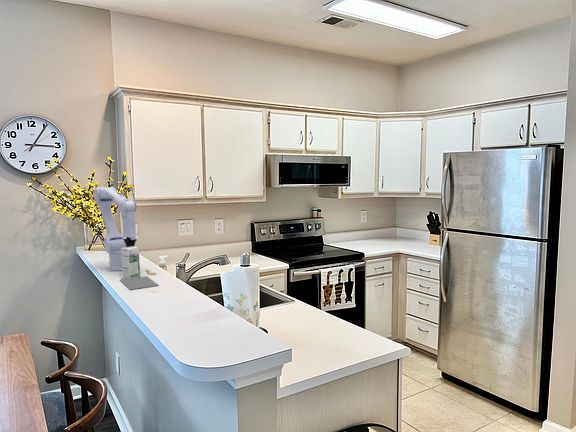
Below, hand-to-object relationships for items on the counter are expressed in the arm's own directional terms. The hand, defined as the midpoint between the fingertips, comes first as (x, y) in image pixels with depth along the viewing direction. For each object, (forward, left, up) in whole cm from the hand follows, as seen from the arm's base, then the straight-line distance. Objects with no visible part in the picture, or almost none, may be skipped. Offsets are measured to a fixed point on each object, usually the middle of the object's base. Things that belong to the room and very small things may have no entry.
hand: (130, 252), depth 205 cm
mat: (+21, +7, -10) cm, 25 cm away
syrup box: (+8, +2, -11) cm, 14 cm away
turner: (0, +9, -11) cm, 14 cm away
